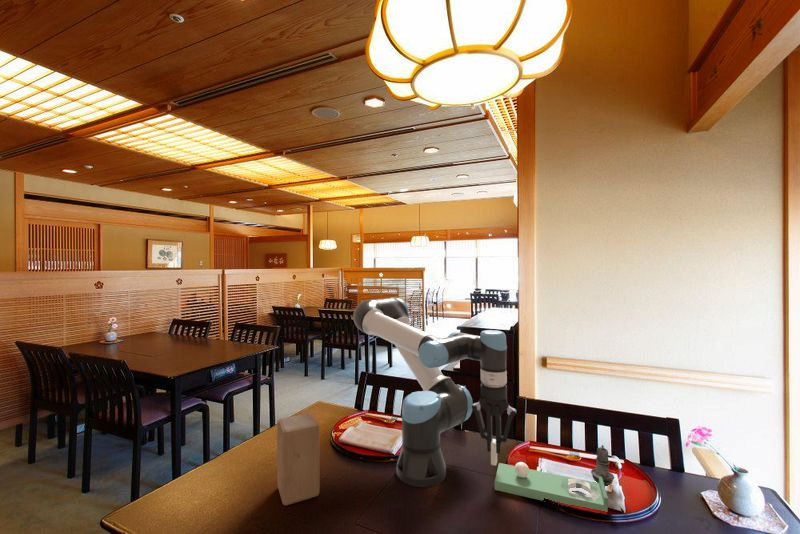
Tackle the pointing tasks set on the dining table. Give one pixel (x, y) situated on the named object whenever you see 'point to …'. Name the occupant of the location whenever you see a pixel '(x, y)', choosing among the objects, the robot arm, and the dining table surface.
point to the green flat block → (551, 487)
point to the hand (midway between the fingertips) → (494, 462)
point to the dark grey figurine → (602, 467)
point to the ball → (521, 469)
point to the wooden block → (298, 458)
